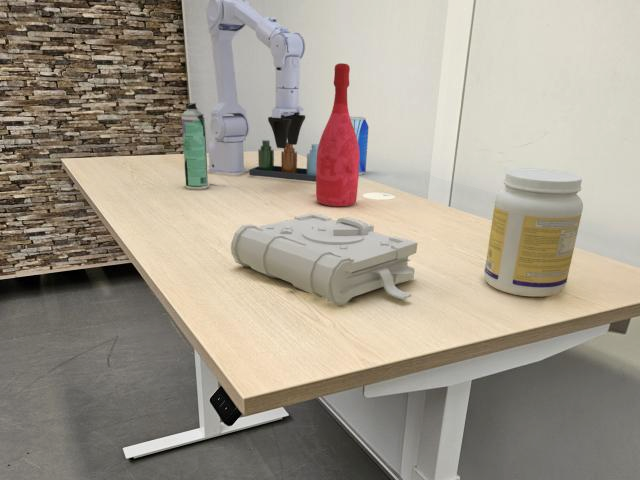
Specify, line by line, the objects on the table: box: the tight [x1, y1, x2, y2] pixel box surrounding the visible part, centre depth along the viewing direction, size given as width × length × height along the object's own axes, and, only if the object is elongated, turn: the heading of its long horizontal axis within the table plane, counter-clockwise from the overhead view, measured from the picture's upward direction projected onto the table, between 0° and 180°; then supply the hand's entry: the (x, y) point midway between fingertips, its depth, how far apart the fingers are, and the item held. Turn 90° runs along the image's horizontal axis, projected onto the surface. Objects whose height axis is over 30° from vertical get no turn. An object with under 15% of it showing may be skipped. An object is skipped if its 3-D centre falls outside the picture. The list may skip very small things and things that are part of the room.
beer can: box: [349, 115, 369, 176], centre depth 166 cm, size 8×8×16 cm
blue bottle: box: [306, 143, 319, 176], centre depth 158 cm, size 4×4×9 cm
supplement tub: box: [483, 167, 584, 298], centre depth 86 cm, size 12×12×17 cm
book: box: [230, 212, 418, 307], centre depth 87 cm, size 19×28×8 cm
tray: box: [248, 165, 316, 183], centre depth 162 cm, size 21×9×2 cm, turn 72°
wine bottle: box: [315, 62, 360, 207], centre depth 129 cm, size 10×10×30 cm
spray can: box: [181, 102, 209, 191], centre depth 141 cm, size 6×6×20 cm
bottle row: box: [257, 139, 298, 174], centre depth 161 cm, size 11×4×9 cm, turn 72°
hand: (286, 146), depth 145 cm, fingers open, 7 cm apart
